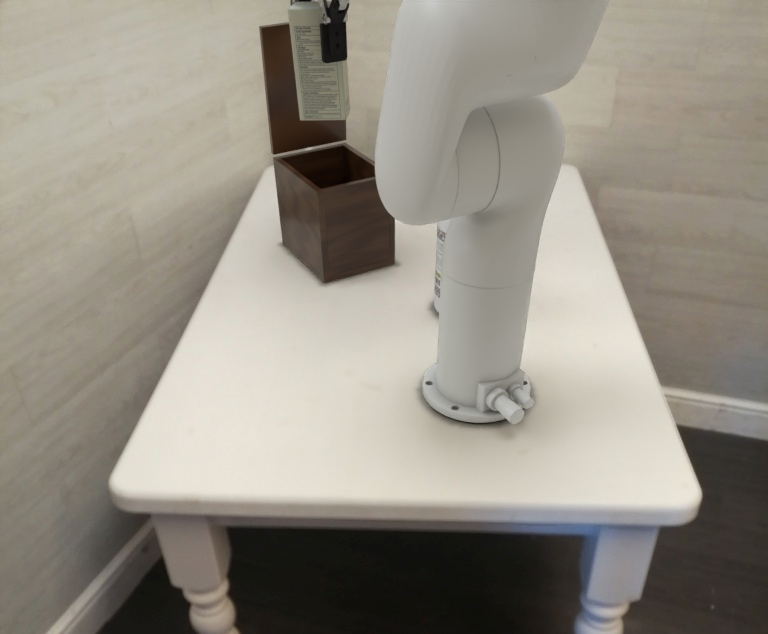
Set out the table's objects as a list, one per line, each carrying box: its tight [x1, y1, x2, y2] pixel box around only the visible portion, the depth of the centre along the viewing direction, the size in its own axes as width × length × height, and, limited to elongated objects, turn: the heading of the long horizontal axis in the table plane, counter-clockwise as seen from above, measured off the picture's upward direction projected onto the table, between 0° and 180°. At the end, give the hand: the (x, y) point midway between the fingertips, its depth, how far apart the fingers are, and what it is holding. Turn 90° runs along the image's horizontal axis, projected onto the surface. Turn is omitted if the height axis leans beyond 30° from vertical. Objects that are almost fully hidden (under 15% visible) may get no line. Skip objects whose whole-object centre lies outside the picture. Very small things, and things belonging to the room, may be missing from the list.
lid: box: [258, 21, 347, 156], centre depth 101 cm, size 16×12×5 cm
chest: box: [272, 142, 396, 284], centre depth 106 cm, size 15×12×13 cm
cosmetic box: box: [287, 0, 351, 121], centre depth 90 cm, size 6×4×12 cm
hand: (320, 53), depth 89 cm, fingers closed on cosmetic box, 6 cm apart
